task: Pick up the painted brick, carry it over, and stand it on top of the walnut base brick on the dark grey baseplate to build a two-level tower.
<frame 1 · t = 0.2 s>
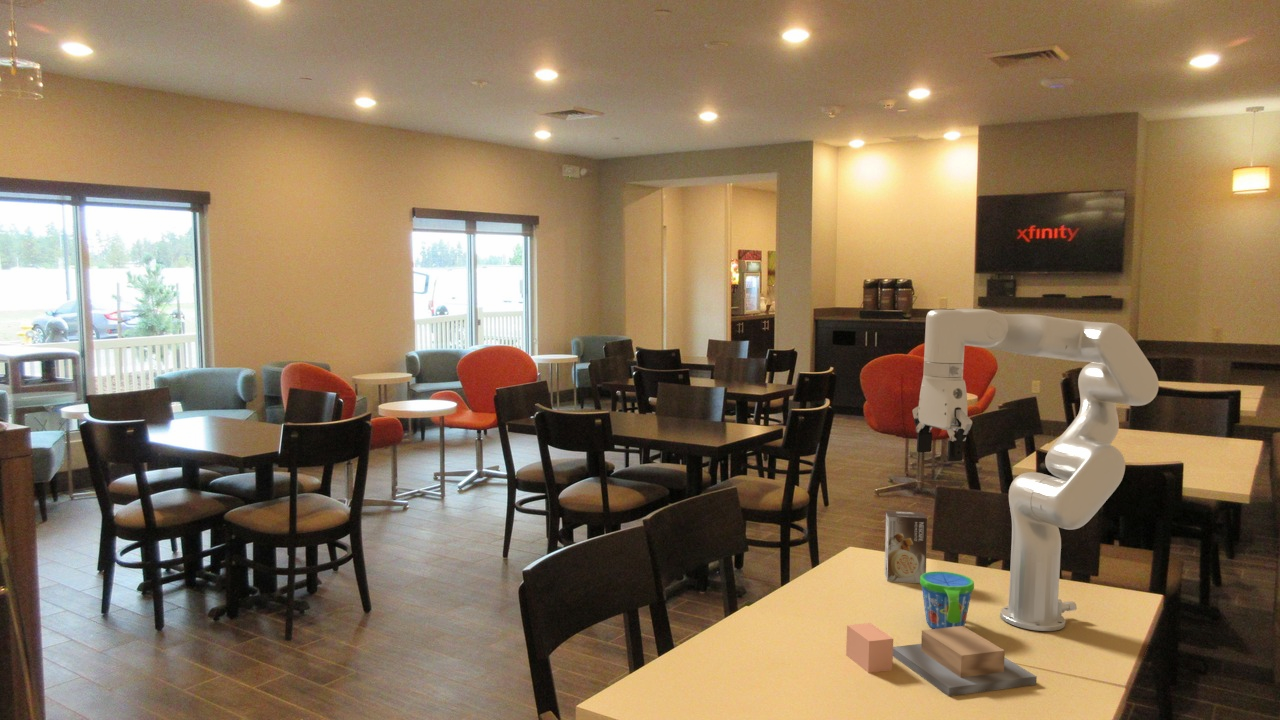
hand: (939, 456, 178), 36 cm above the table, tool pointing down, fingers open, 9 cm apart
snack cup: (945, 627, 184), on the table
coffee box: (904, 579, 214), on the table
brick: (868, 662, 166), on the table
base: (960, 669, 163), on the table
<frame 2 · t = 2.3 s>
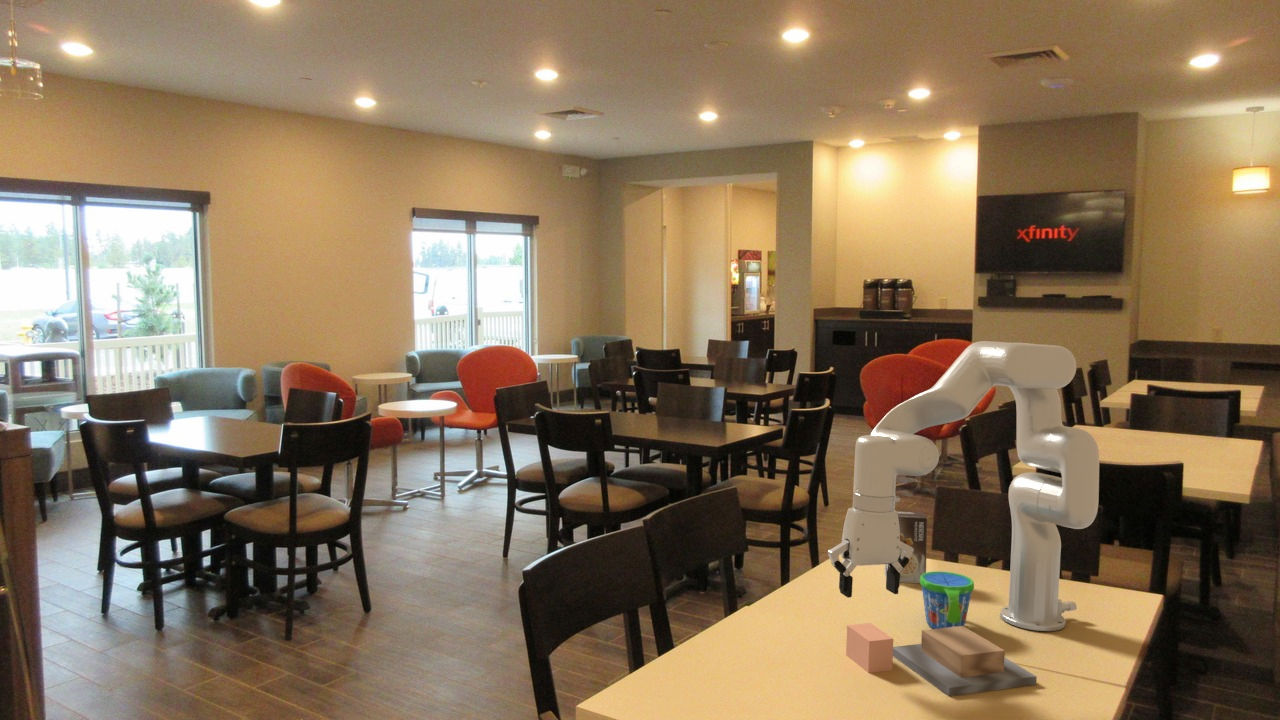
hand: (869, 593, 164), 13 cm above the table, tool pointing down, fingers open, 9 cm apart
nothing on the table moved.
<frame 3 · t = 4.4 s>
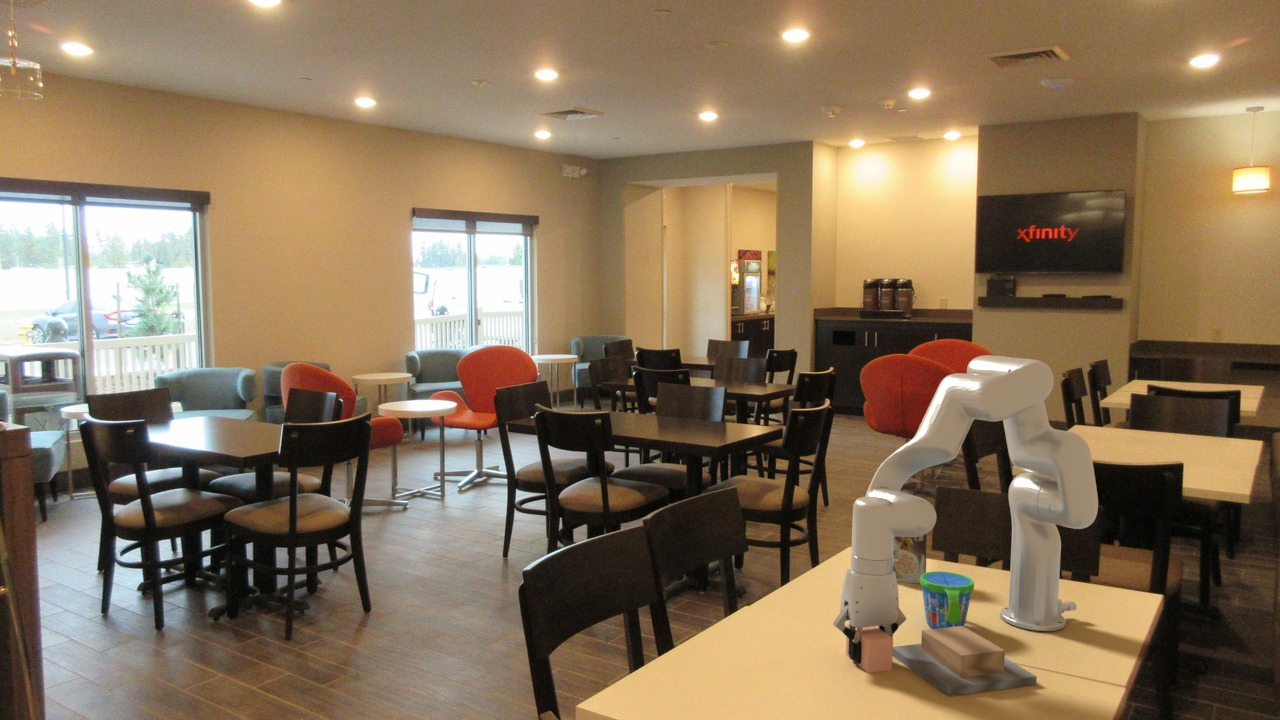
hand: (868, 658, 166), 1 cm above the table, tool pointing down, fingers closed on brick, 5 cm apart
brick: (868, 662, 166), on the table, touching gripper
everything else where it was.
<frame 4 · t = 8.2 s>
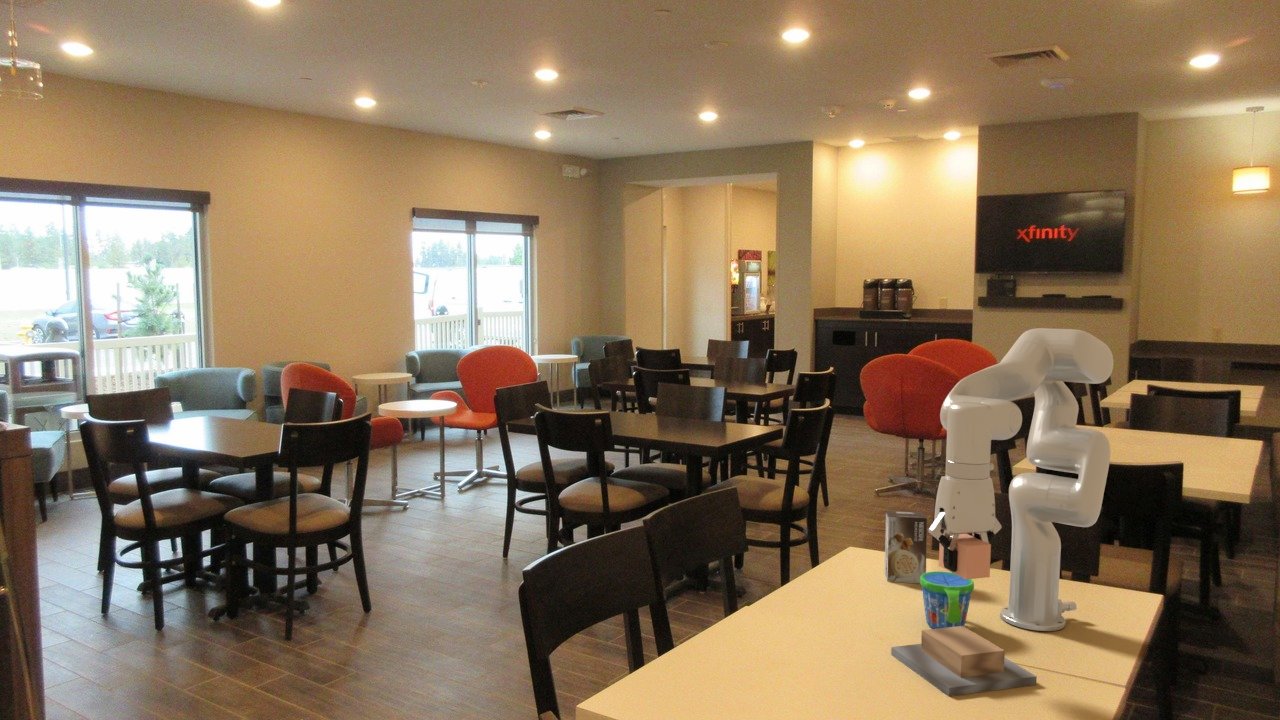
hand: (963, 567, 162), 19 cm above the table, tool pointing down, fingers closed on brick, 5 cm apart
brick: (963, 571, 162), point 18 cm above the table, touching gripper
everything else where it was.
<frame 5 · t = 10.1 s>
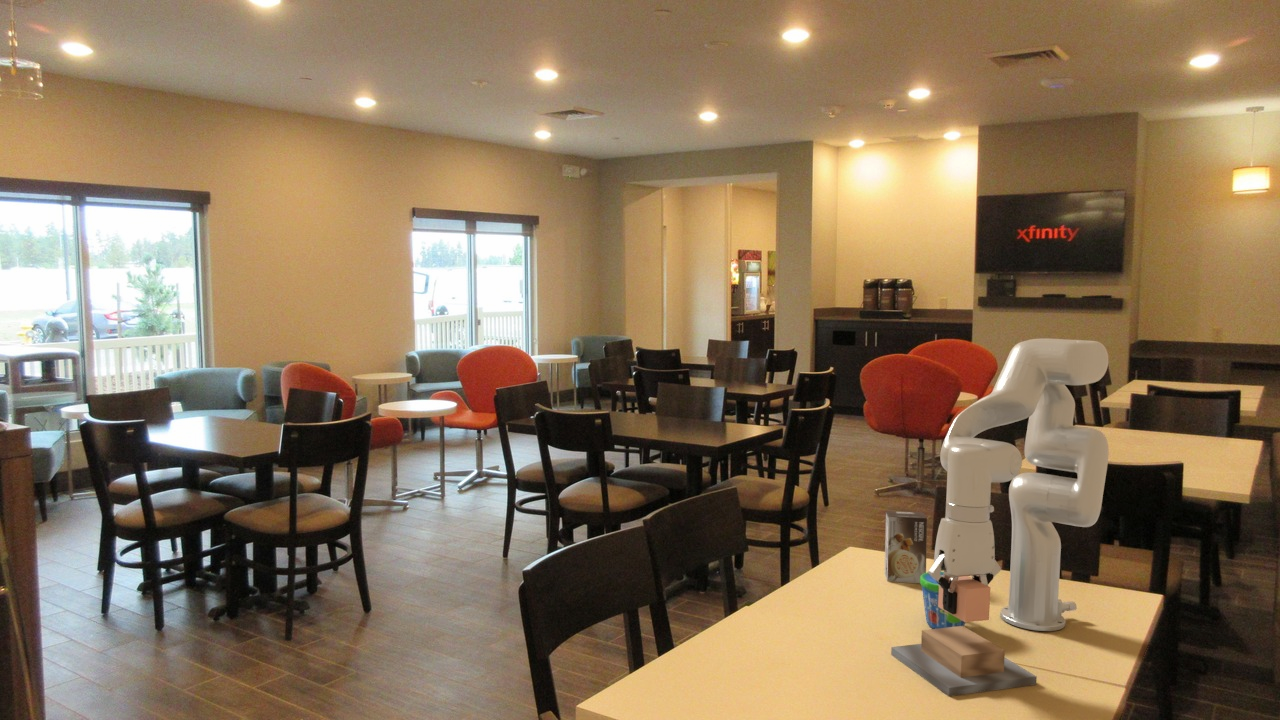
hand: (963, 609, 162), 11 cm above the table, tool pointing down, fingers closed on brick, 5 cm apart
brick: (963, 613, 162), point 11 cm above the table, touching gripper
everything else where it was.
when the fingers open (8 cm above the table, at t = 11.9 s): brick drops 1 cm, resting on base.
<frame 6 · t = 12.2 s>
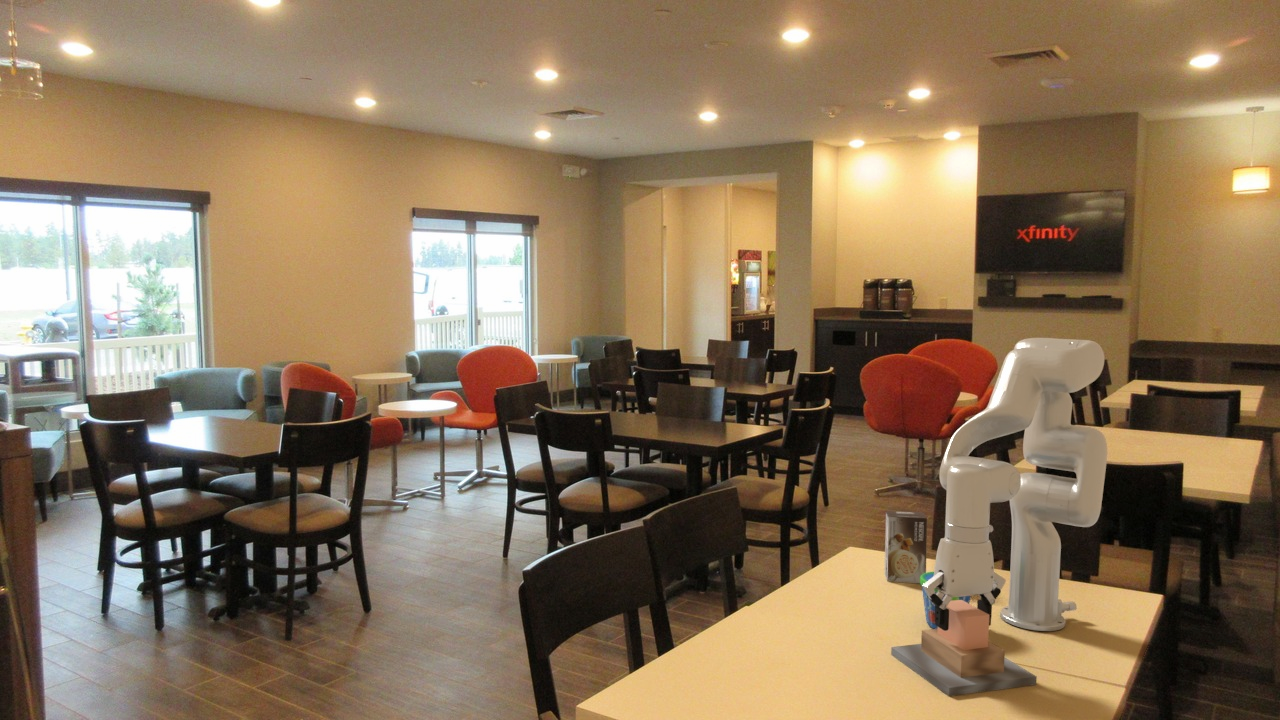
hand: (962, 625, 162), 8 cm above the table, tool pointing down, fingers open, 8 cm apart
brick: (962, 640, 163), point 5 cm above the table, touching base
everything else where it was.
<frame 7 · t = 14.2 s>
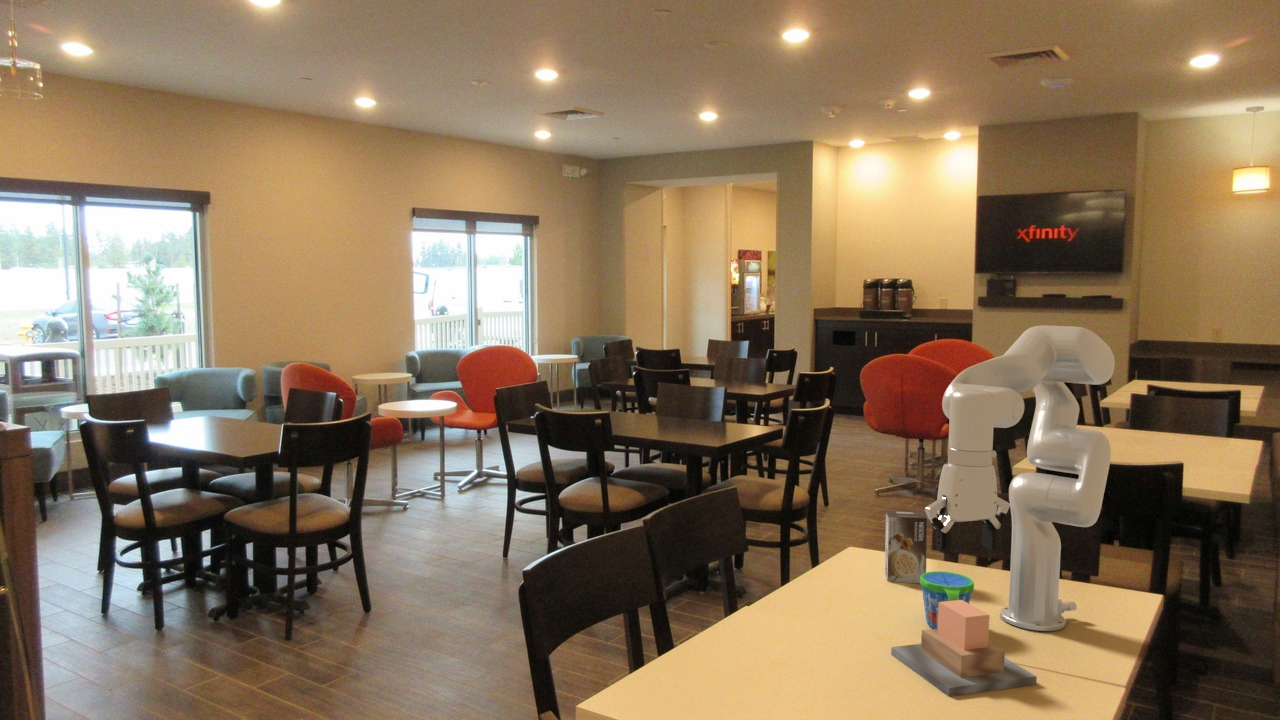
hand: (966, 550, 162), 22 cm above the table, tool pointing down, fingers open, 9 cm apart
nothing on the table moved.
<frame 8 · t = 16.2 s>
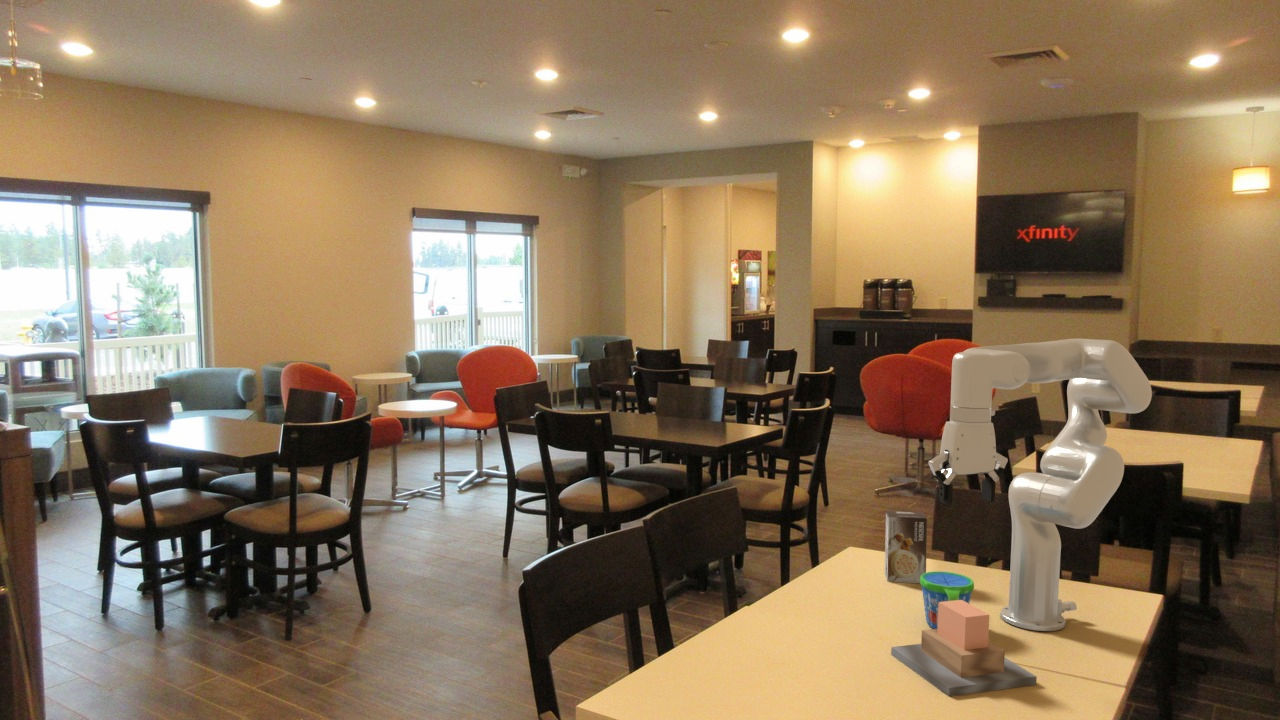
hand: (966, 501, 174), 28 cm above the table, tool pointing down, fingers open, 9 cm apart
nothing on the table moved.
at the end: brick 0.0 cm from the base (horizontally); brick point 5.5 cm above the table; brick tilted 0° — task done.
